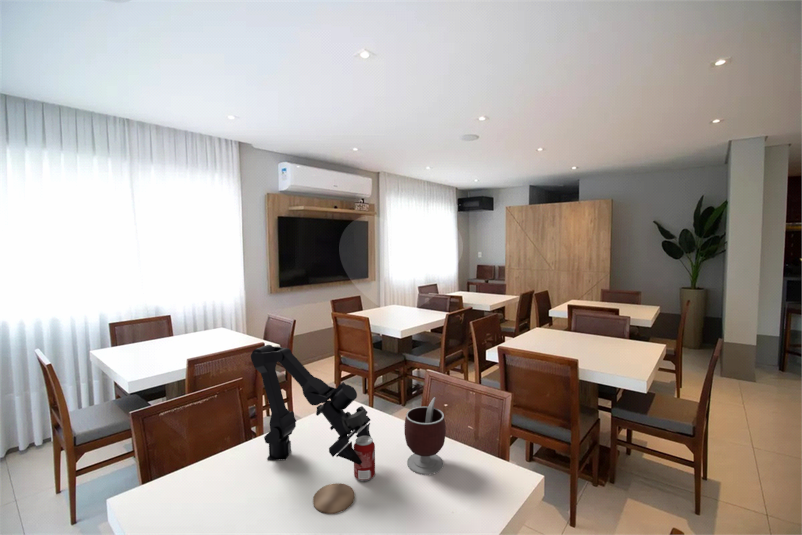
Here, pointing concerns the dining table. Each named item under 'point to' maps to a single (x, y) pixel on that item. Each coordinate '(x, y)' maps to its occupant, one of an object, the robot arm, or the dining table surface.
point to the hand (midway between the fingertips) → (367, 455)
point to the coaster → (333, 498)
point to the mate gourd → (425, 438)
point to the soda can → (365, 458)
